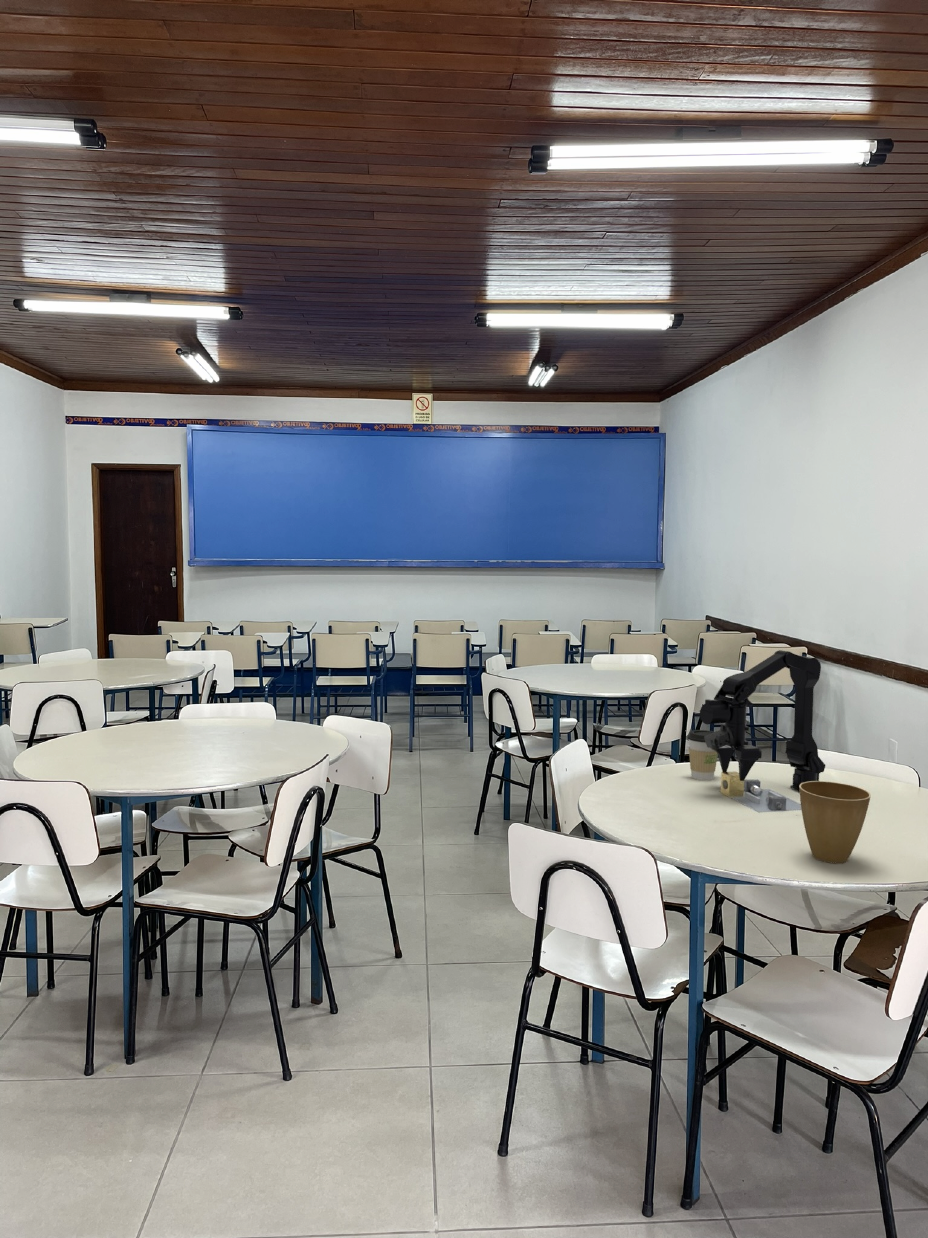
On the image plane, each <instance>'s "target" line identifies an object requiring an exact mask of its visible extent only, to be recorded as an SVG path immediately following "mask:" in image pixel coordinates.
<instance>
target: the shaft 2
mask: <svg viewBox="0 0 928 1238" xmlns="http://www.w3.org/2000/svg"><path fill="white" fill-rule="evenodd" d="M785 797H786V796H785ZM785 797H773V796H768V797H767V798H766V803H767V804H768V808H769V809H770V810H786V798H785Z"/></svg>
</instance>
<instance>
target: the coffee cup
mask: <svg viewBox="0 0 928 1238" xmlns="http://www.w3.org/2000/svg"><path fill="white" fill-rule="evenodd" d="M713 732H714V731H712V730H707V729H706V730H704V729H695V730H694V729H693V730H690V731H689V734H688V735H687V737H686V738H687V740H688V743H689V744H688V752H689V765H690V766H689V767H690V771H691V773H690V775H691V778H692V779H694V780H698V781H712V780H714V776H715V773H716V767H717V762H718V754H717V752H715V751H714V750H712V749H711V748H708V747H707V745H706V742H705V738H704V736H706V735H708V734H711V733H713Z"/></svg>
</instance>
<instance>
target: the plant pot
mask: <svg viewBox="0 0 928 1238" xmlns="http://www.w3.org/2000/svg"><path fill="white" fill-rule="evenodd" d="M798 792H799V801H800V802H799V803H800V804H801V810H800V811H801V815H802V820H803V825H804V830H805V831H804V832H805V834H806V839H807V842H808V845H809V849H810V852H811V855H812V857H813V858H814V859H816V860H819V861H820V860H821V861H820V862H824V861H825V863H828V862H829V863H828V864H836V863H839V864H845V863H847V862H848V861H849V859H850V857H851V854H852V853H853V850H854V849H855V847H856V844H857V841H858V839H859V838H860V835H861V831H862V829H863V826H864V822H865V820H866V817H867V813H868V808H869V805H870V801H871V793H870V792H869V791H867V789H864V788H861V787H858V786H855V785H851V784H847V783H841V782H834V781H823V780H822V781H821V780H819V781H809V782H804V783H801V784H800V785H799V791H798ZM846 861H847V862H846ZM844 862H845V863H844Z"/></svg>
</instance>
